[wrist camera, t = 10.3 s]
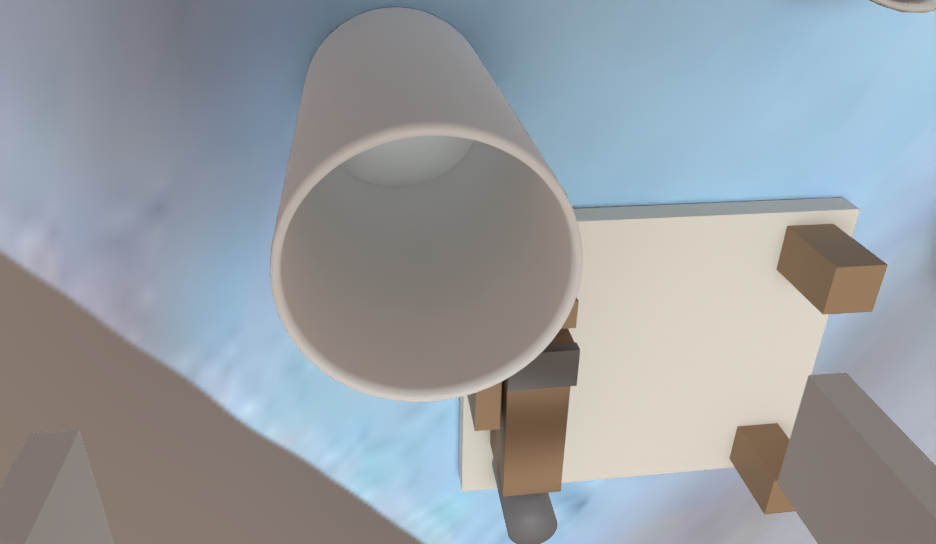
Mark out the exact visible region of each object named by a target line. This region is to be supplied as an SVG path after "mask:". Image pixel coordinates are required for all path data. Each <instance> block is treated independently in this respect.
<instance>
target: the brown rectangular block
mask: <svg viewBox="0 0 936 544" xmlns="http://www.w3.org/2000/svg"><path fill="white" fill-rule="evenodd" d="M579 358H580V348H579V346H578V344H577V342H574V340H573V338H572V336H571V334H570V332H569V329H568V328H566V329H560V331H559V332H558V334H557V335H556V336H555V338H554V339H553V340H552V341H551V343H550V344H549V345H548V346H547V347H546V348H545V350H543V351H542V352H541V353H540V354H539V355H538V356H537V357H536V358H535V359H534V360H533V361H532V362H530V363H529V364H528V365H527V366H525V367H524V368H523V369H521V370H520V371H518V372H517V373H515V374H514V375H512V376H511V377H509V378H507V379H505V380H504V381H502V388H501V408H500V429H496V430H491V431H490V445H491V449H492V453H493V457H494V461H495V466H496V470H497V474H498V478H499V482H500V487H501V491H502V495H503V497H506V496H516V495H527V494H537V493H547V492H557V491H561V481H562V471H563V460H564V449H565V439H566V428H567V418H568V407H569V396H570V386H577V378H578V368H579Z"/></svg>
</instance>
